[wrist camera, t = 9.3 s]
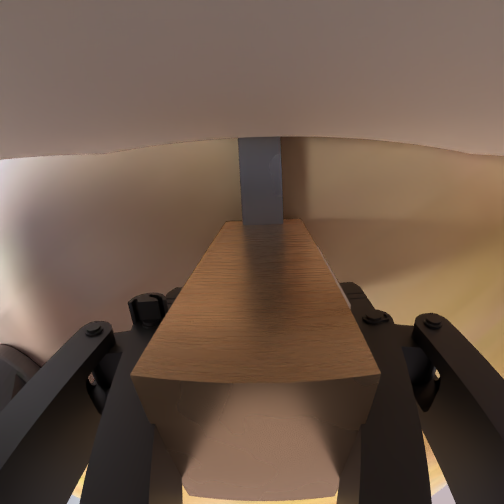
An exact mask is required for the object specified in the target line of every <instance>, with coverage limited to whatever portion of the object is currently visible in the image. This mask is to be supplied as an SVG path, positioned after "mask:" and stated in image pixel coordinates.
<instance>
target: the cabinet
mask: <svg viewBox="0 0 504 504" xmlns="http://www.w3.org/2000/svg"><path fill="white" fill-rule="evenodd" d="M275 136H306V137H338V138H355V139H369V140H380V141H390V142H399V143H408V144H415V145H422V146H429V147H436V148H442V149H447V150H453V151H458V152H463V153H468V154H480V155H497V156H504V0H0V160H2V159H12V158H23V157H36V156H52V155H77V154H107V153H113V152H118V151H124V150H130V149H136V148H142V147H149V146H156V145H164V144H172V143H180V142H190V141H200V140H212V139H226V138H243V137H275Z"/></svg>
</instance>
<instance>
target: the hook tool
mask: <svg viewBox="0 0 504 504" xmlns="http://www.w3.org/2000/svg"><path fill="white" fill-rule="evenodd" d="M238 147H239V165H240V184H241V202H242V219H243V221H226V222H225V224H224V225H223V227H222V228H221V230H220V231H219V233H218V234H217V236H216V237H215V239H214V240H213V242H212V243H211V245H210V247H209V248H208V250H207V251H206V253H205V254H204V256H203V257H202V259H201V260H200V262H199V263H198V265H197V266H196V268H195V270H194V271H193V273H192V274H191V276H190V277H189V279H188V280H187V282H186V284H185V285H184V287H183V288H182V290H181V291H180V293H179V295H178V296H177V298H176V299H175V301H174V303H173V304H172V306H171V307H170V309H169V311H168V312H167V314H166V316H165V317H164V319H163V320H162V322H161V324H160V325H159V327H158V329H157V330H156V332H155V333H154V335H153V337H152V338H151V340H150V342H149V343H148V345H147V347H146V348H145V350H144V352H143V353H142V355H141V357H140V359H139V360H138V362H137V364H136V365H135V367H134V369H133V370H132V372H131V374H130V376H131V379H132V381H133V384H134V386H135V389H136V392H137V394H138V396H139V399H140V401H141V404H142V406H143V408H144V411H145V413H146V415H147V417H148V420H149V422H150V423H152V424H155V425H156V427H157V429H158V431H159V434H160V436H161V438H162V440H163V442H164V444H165V446H166V448H167V450H168V452H169V454H170V456H171V458H172V460H173V462H174V464H175V466H176V468H177V470H178V472H179V473H180V475H181V477H182V485H183V486H184V488H185V490H186V491H187V493H188V494H189V495H190V496H197V497H205V498H214V499H226V500H243V501H285V500H302V499H314V498H323V497H331V496H335V494H336V492H337V490H338V488H339V479H340V476H341V474H342V472H343V469H344V467H345V465H346V462H347V460H348V457H349V455H350V452H351V450H352V447H353V445H354V442H355V439H356V437H357V434H358V431H359V428H360V425H361V424H365V423H366V420H367V417H368V414H369V411H370V408H371V405H372V402H373V399H374V396H375V393H376V389H377V386H378V383H379V379H380V376H381V372H380V370H379V368H378V366H377V364H376V362H375V359H374V357H373V355H372V353H371V351H370V349H369V347H368V345H367V343H366V341H365V338H364V336H363V334H362V332H361V330H360V328H359V326H358V324H357V322H356V320H355V318H354V316H353V314H352V312H351V310H350V308H349V306H348V304H347V302H346V301H345V299H344V297H343V295H342V293H341V291H340V289H339V287H338V285H337V283H336V281H335V280H334V278H333V276H332V274H331V272H330V270H329V268H328V266H327V265H326V263H325V261H324V259H323V257H322V255H321V254H320V252H319V250H318V248H317V246H316V245H315V243H314V241H313V239H312V238H311V236H310V234H309V232H308V231H307V229H306V227H305V225H304V224H303V222H302V220H301V219H283V194H282V167H281V144H280V136H275V137H243V138H238Z"/></svg>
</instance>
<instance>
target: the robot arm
mask: <svg viewBox="0 0 504 504" xmlns="http://www.w3.org/2000/svg"><path fill="white" fill-rule="evenodd" d="M317 248H318V250H319V252H320V254H321V255H322V257H323V259H324V261H325V263H326V265H327V266H328V268H329V270H330V272H331V274H332V276H333V278H334V280H335V281H336V283H337V285H338V287H339V289H340V291H341V293H342V295H343V297H344V299H345V301H346V302H347V304H348V306H349V308H350V310H351V312H352V314H353V316H354V318H355V320H356V322H357V324H358V326H359V328H360V330H361V332H362V334H363V336H364V338H365V341H366V343H367V345H368V347H369V349H370V351H371V353H372V355H373V357H374V359H375V362H376V364H377V366H378V368H379V370H380V372H381V376H380V379H379V383H378V386H377V389H376V393H375V396H374V399H373V402H372V405H371V408H370V411H369V414H368V417H367V420H366V423H365V424H361V425H360V428H359V431H358V434H357V437H356V439H355V442H354V445H353V447H352V450H351V452H350V455H349V457H348V460H347V462H346V465H345V467H344V469H343V472H342V474H341V476H340V479H339V488H338V497H337V504H432V502H431V490H430V481H429V473H428V465H427V458H426V452H425V445H424V440H423V434H422V431H423V433H424V435H425V437H426V439H427V441H428V443H429V445H430V447H431V449H432V451H433V453H434V455H435V457H436V459H437V462H438V464H439V466H440V468H441V470H442V472H443V475H444V477H445V479H446V481H447V484H448V486H449V488H450V491H451V493H452V495H453V497H454V500H455V502H456V504H504V379H503V378H502V377H501V376H500V375H499V373H498V372H497V371H496V370H495V369H494V368H493V367H492V366H491V364H490V363H489V362H488V361H487V360H486V359H485V358H484V357H483V356H482V355H481V354H480V353H479V351H478V350H477V349H476V348H475V347H474V346H473V345H472V344H471V343H470V342H469V341H468V340H467V339H466V338H465V337H464V336H463V335H462V334H461V333H460V332H459V331H458V330H457V329H456V328H455V327H454V326H453V325H452V324H451V323H450V322H449V321H448V320H447V319H446V318H444V317H442V316H440V315H438V314H435V313H434V314H433V313H425V314H421V315H419V316H417V317H416V319H415V323H414V326H407V325H397V324H394V322H393V319H392V317H391V316H390V315H389V314H387V313H386V312H383V311H380V310H375V308H374V307H373V305H372V304H371V302H370V301H369V299H368V298H367V296H366V295H365V294H364V292H363V291H362V289H361V288H360V287H359V286H358V285H356V284H354V283H353V282H347V283H339V282H338V281H337V279H336V277H335V275H334V273H333V272H332V270H331V268H330V266H329V265H328V263H327V261H326V259H325V258H324V256H323V254H322V252H321V251H320V249H319V247H318V245H317ZM181 290H182V288H175V289H173V290H172V291H170V292H169V293H168V294H167V295H166V297H165V296H164V295H163V294H159V293H146V294H142V295H139V296H136V297H134V298H132V299H131V300H130V301H129V302H128V305H129V309H130V313H131V317H132V321H133V327H132V329H131V331H126V332H117V333H113V330H112V326H111V325H110V324H109V323H108V322H104V321H94V322H90V323H89V324H87V325H85V326H83V327H82V328H80V329H79V330H78V331H77V332H76V333H75V334H74V335H73V336H72V337H71V338H70V339H69V340H68V341H67V342H66V343H65V344H64V345H63V346H62V347H61V348H60V349H59V350H58V351H57V352H56V353H55V354H54V355H53V356H52V357H51V358H50V359H49V360H48V361H47V362H46V363H45V364H44V365H43V366H42V368H40V367H39V366H38V365H37V364H36V363H34V362H33V361H32V360H31V359H30V358H28V357H27V356H25V355H24V354H23V353H21V352H20V351H18V350H16V349H14V348H12V347H10V346H7V345H0V504H67V502H68V500H69V498H70V496H71V494H72V493H73V491H74V489H75V487H76V485H77V483H78V481H79V479H80V478H81V476H82V474H83V472H84V470H85V468H86V467H87V465H88V467H87V471H86V476H85V480H84V485H83V489H82V494H81V499H80V504H183V502H182V477H181V475H180V473H179V472H178V470H177V468H176V466H175V464H174V462H173V460H172V458H171V456H170V454H169V452H168V450H167V448H166V446H165V444H164V442H163V440H162V438H161V436H160V434H159V431H158V429H157V427H156V425H155V424H152V423H150V422H149V420H148V417H147V415H146V413H145V411H144V408H143V406H142V404H141V401H140V399H139V396H138V394H137V392H136V389H135V386H134V384H133V381H132V379H131V376H130V374H131V372H132V370H133V369H134V367H135V365H136V364H137V362H138V360H139V359H140V357H141V355H142V353H143V352H144V350H145V348H146V347H147V345H148V343H149V342H150V340H151V338H152V337H153V335H154V333H155V332H156V330H157V329H158V327H159V325H160V324H161V322H162V320H163V319H164V317H165V316H166V314H167V312H168V311H169V309H170V307H171V306H172V304H173V303H174V301H175V299H176V298H177V296H178V295H179V293H180V291H181ZM436 369H437V370H438V372H439V374H440V378H438V377H437V376H436V375H435V372H436ZM91 372H92V374H93V376H94V378H95V380H94V382H93V383H90V382H89V380H88V376H89V375H90V374H91Z"/></svg>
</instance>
